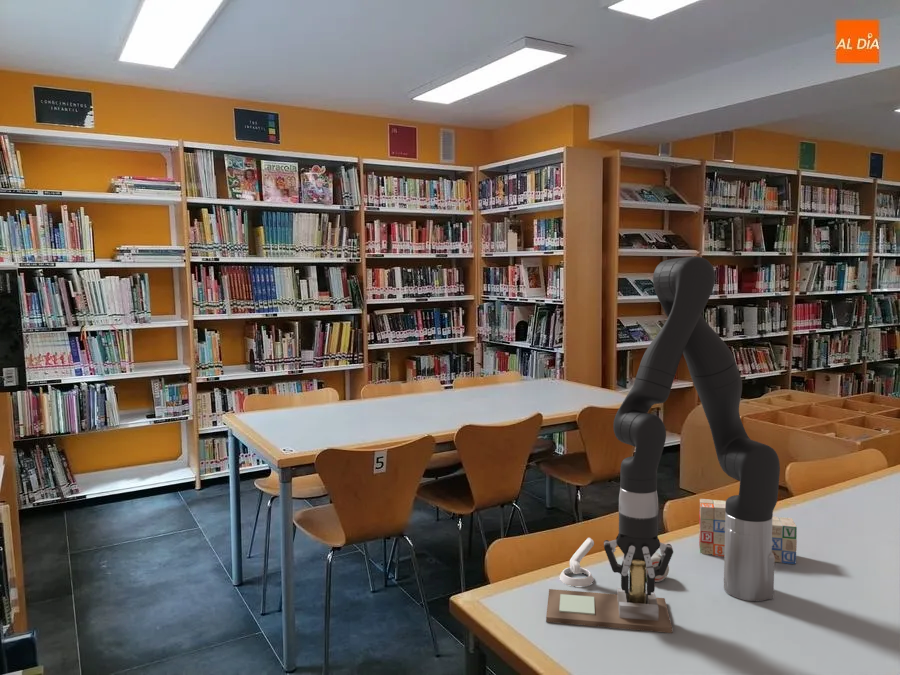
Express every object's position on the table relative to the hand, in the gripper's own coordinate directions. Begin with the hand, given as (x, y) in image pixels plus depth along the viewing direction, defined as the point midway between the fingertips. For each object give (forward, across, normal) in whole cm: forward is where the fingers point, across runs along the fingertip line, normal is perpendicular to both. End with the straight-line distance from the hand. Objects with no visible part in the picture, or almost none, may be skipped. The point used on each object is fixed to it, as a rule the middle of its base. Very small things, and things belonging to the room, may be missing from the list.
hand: (637, 592), depth 131 cm
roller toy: (+5, -5, -17) cm, 18 cm away
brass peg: (+4, 0, 0) cm, 4 cm away
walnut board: (+5, +6, 0) cm, 8 cm away
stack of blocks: (+5, -28, -35) cm, 45 cm away
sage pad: (+4, +12, 0) cm, 13 cm away
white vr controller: (+5, +12, -14) cm, 19 cm away
